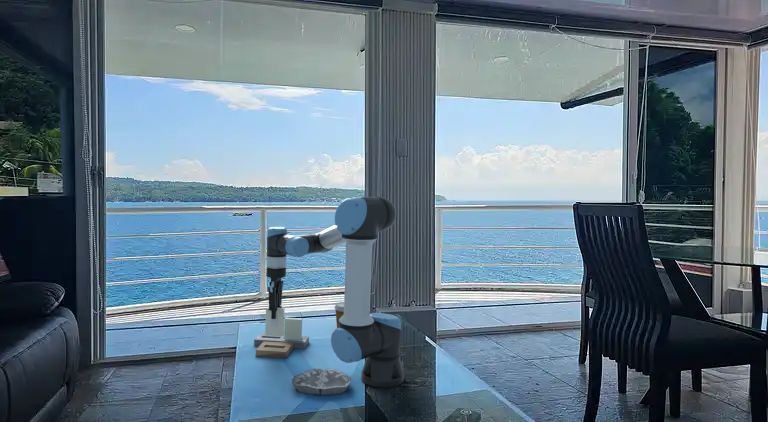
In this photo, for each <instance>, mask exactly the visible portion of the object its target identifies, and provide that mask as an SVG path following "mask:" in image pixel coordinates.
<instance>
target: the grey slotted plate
mask: <svg viewBox="0 0 768 422" xmlns="http://www.w3.org/2000/svg"><path fill="white" fill-rule="evenodd" d="M264 341H265V342H281V343H293V349H300V350H301V349H303V350H304V349H306V347H307V346H308V344H309V343H310V336H308V335H307V336H304V335H302V340H292V339H284V336H283V337H282V336H268V335H265V333H261V332H260V333H259V334H258V335H257V336H256V337H254V339H253V345H254V346H256V347H259V346H260V345H261V344H262V343H263V342H264Z"/></svg>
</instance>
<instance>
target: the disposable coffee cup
mask: <svg viewBox="0 0 768 422" xmlns="http://www.w3.org/2000/svg"><path fill="white" fill-rule="evenodd" d="M334 310H335V318H336V319H335V320H336V329H338V328H339V319H340V318H341V317H342V316H343V315H344V301H341V302H337V303H335V305H334Z"/></svg>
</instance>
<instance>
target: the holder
mask: <svg viewBox="0 0 768 422" xmlns="http://www.w3.org/2000/svg"><path fill="white" fill-rule="evenodd" d="M293 350H294V348H293V343H281V342H265V341H264V342H263V343H262V344H261V345H260V346H257V348H255V357H263V358H276V359H277V358H280V359H287V357H288V356H289V355H290V353H291V352H292V351H293Z"/></svg>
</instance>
